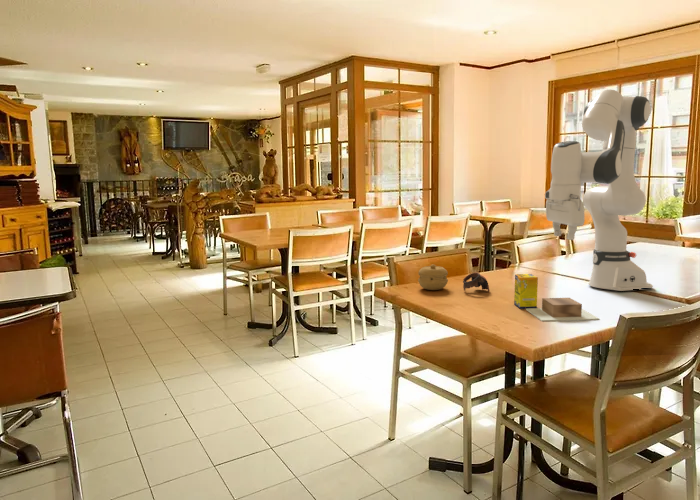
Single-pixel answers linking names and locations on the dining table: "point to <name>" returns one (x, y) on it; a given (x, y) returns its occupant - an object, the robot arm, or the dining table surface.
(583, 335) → the dining table surface
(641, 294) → the dining table surface
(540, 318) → the mat
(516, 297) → the supplement box
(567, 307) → the walnut slab
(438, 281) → the pot
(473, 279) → the brown ceramic rounded piece
